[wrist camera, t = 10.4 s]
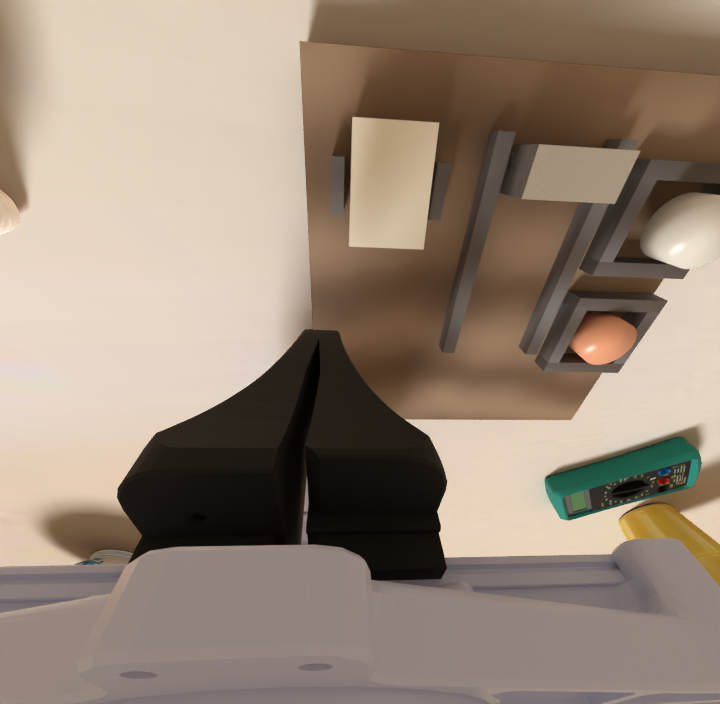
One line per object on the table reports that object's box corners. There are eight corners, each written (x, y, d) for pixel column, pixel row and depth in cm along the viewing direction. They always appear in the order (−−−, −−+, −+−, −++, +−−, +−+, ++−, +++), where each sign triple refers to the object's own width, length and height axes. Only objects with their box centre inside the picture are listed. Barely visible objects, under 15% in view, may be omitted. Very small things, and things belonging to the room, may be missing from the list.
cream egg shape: (682, 259, 16) (716, 270, 15) (627, 257, 16) (656, 267, 15) (726, 193, 14) (769, 198, 13) (664, 190, 14) (702, 195, 13)
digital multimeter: (678, 465, 35) (703, 489, 32) (549, 502, 38) (562, 526, 36) (683, 429, 31) (712, 453, 29) (539, 474, 35) (554, 498, 32)
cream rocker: (417, 246, 16) (423, 249, 14) (348, 244, 15) (349, 246, 14) (430, 131, 14) (439, 122, 12) (351, 126, 13) (352, 116, 12)
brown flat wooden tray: (557, 403, 27) (582, 433, 24) (318, 401, 26) (315, 433, 23) (743, 88, 15) (837, 74, 12) (304, 54, 14) (294, 28, 11)
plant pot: (699, 509, 40) (787, 599, 32) (624, 539, 45) (685, 625, 37) (670, 485, 36) (763, 580, 28) (591, 520, 41) (651, 611, 33)
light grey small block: (580, 196, 15) (614, 203, 13) (498, 192, 15) (521, 199, 13) (599, 150, 14) (640, 150, 12) (511, 145, 14) (539, 144, 12)
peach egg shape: (600, 350, 21) (619, 365, 20) (557, 349, 21) (573, 364, 20) (624, 310, 20) (647, 323, 18) (578, 309, 19) (598, 322, 18)
